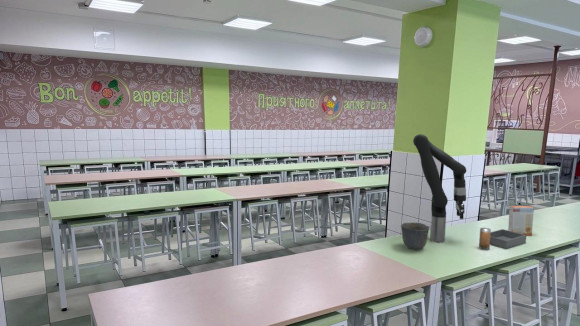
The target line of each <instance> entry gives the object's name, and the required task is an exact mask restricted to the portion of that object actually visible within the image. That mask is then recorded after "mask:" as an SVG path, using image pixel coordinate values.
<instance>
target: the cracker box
mask: <svg viewBox="0 0 580 326" xmlns="http://www.w3.org/2000/svg"><path fill="white" fill-rule="evenodd" d="M508 210H509V212H508V231H512V232H516V233H520V234H523V235H526V237H529V236H531V237H532V236H533V223H534V207H533V206H530V205H509V209H508Z"/></svg>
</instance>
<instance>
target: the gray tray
mask: <svg viewBox="0 0 580 326" xmlns="http://www.w3.org/2000/svg"><path fill="white" fill-rule="evenodd" d="M526 243H527V236H526V235H523V234H520V233H516V232H512V231H508V230H507V229H503V228H501V229H498V230H494V231H491V236H490V246H493V247H495V248H496V247H498V248H500V249H503V250H509V249H511V248H512V249H513V248H515V247H518V246H521V245H524V244H526Z"/></svg>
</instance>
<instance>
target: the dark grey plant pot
mask: <svg viewBox="0 0 580 326" xmlns="http://www.w3.org/2000/svg"><path fill="white" fill-rule="evenodd" d="M430 227H431V226H429V225H426V224H425V223H421V222H404V223H401V224H400V228H401V236H402V237H401V238H402V242H403V244H404V246H406V247H407V248H408V249H413V250H421V249H423V248H425V246H426V245H427V241H428V236H429V231H430Z"/></svg>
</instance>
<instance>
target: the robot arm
mask: <svg viewBox="0 0 580 326" xmlns="http://www.w3.org/2000/svg"><path fill="white" fill-rule="evenodd" d="M412 143H413V145H414V146H415V148H416V150H417V151H418V154H419V158H420V164H421V168H422V173H423V176H424V177H425V178H424V179H425V180H426V182H427V185H428V187H429V188H430V192H431V194H432V195H431V196H432V197H431V217H430V218H431V221H430V226H429V227H430V228H429V231H430V232H429V240H430V242H434V243H444V242H445V241H446V226H447V225H446V224H447V208H446V207H447V205H448V202H449V201H448V197H447V195H446V193H445V190H444V189H443V186H442V181H441V176H440V173H439V170H438V167H437V164H436V162H435V160H437V161H438V162H439V163H441V164H442V165H444V166H445V167H447V168H449V169H450V170H451V171H452V174H453V175H452V176H453V201H454V202H455V211H456V216H457V217H459V219H460V220H464V215H465V203H463V202H466V201H467V189H466V187H467V186H466V179H465V174H466V173H467V167H466V166H465V165H464V164H462V163H460V162H459V161H458V160H456V159H455V158H453V156H451V155H450V154H448V153H447V152H445V151H444V150H442V149H441V148H439V147H437V146H436V145H434V144H433V143H432V142H431V141H430V140H429V138H428V137H427V136H426V135H425V134H416V135H415V136H414V137H413V139H412ZM434 158H435V159H434Z"/></svg>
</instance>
